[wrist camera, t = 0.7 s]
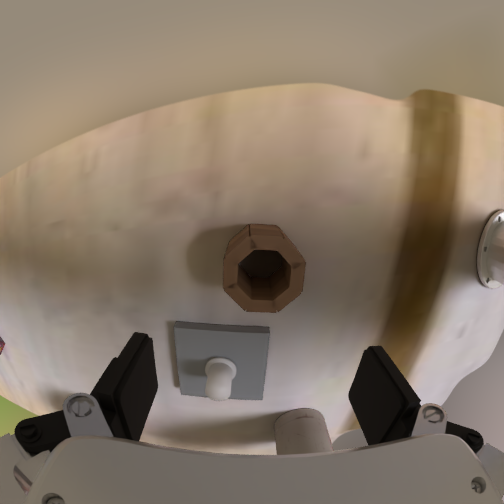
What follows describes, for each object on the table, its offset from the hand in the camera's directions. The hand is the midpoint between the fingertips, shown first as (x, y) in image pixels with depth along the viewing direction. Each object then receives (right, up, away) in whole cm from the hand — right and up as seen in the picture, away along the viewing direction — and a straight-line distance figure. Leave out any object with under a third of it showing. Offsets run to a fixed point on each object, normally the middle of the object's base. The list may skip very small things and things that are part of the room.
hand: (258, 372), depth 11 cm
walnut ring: (+1, +5, +19) cm, 19 cm away
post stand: (-4, -9, +22) cm, 24 cm away
